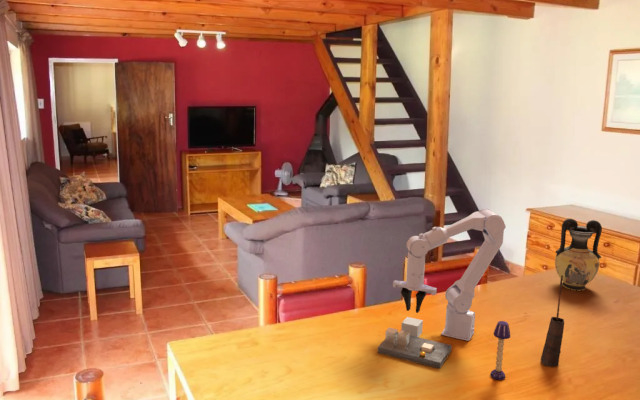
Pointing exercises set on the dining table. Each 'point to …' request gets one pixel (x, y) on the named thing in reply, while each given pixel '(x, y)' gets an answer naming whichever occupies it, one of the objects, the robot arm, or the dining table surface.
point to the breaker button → (427, 347)
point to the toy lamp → (500, 348)
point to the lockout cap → (412, 326)
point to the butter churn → (553, 338)
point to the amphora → (578, 254)
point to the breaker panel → (413, 348)
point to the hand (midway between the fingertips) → (413, 310)
